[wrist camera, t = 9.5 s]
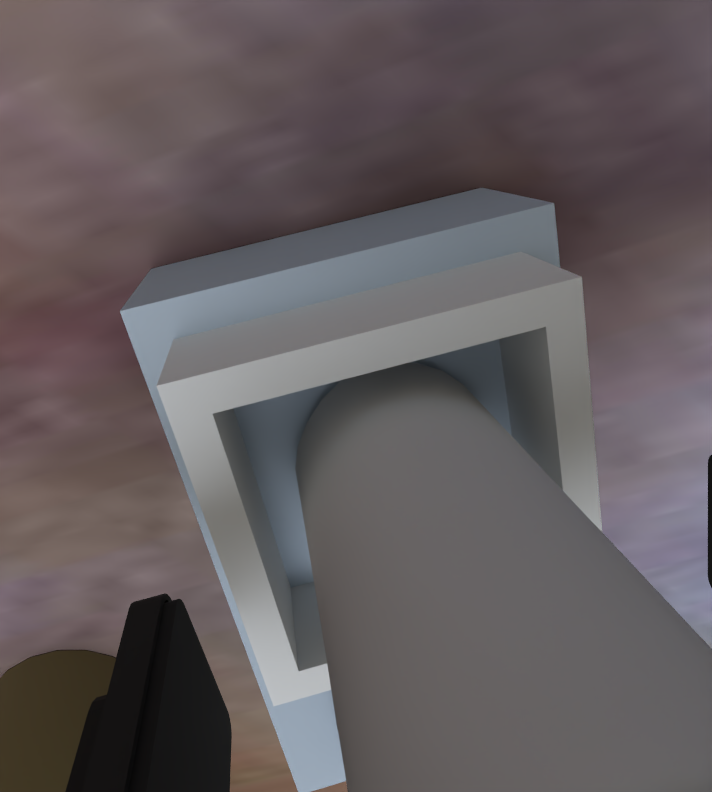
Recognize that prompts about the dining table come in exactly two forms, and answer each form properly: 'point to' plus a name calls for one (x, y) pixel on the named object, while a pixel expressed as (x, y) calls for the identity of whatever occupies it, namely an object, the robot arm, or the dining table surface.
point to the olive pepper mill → (47, 716)
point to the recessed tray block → (341, 359)
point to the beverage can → (484, 610)
